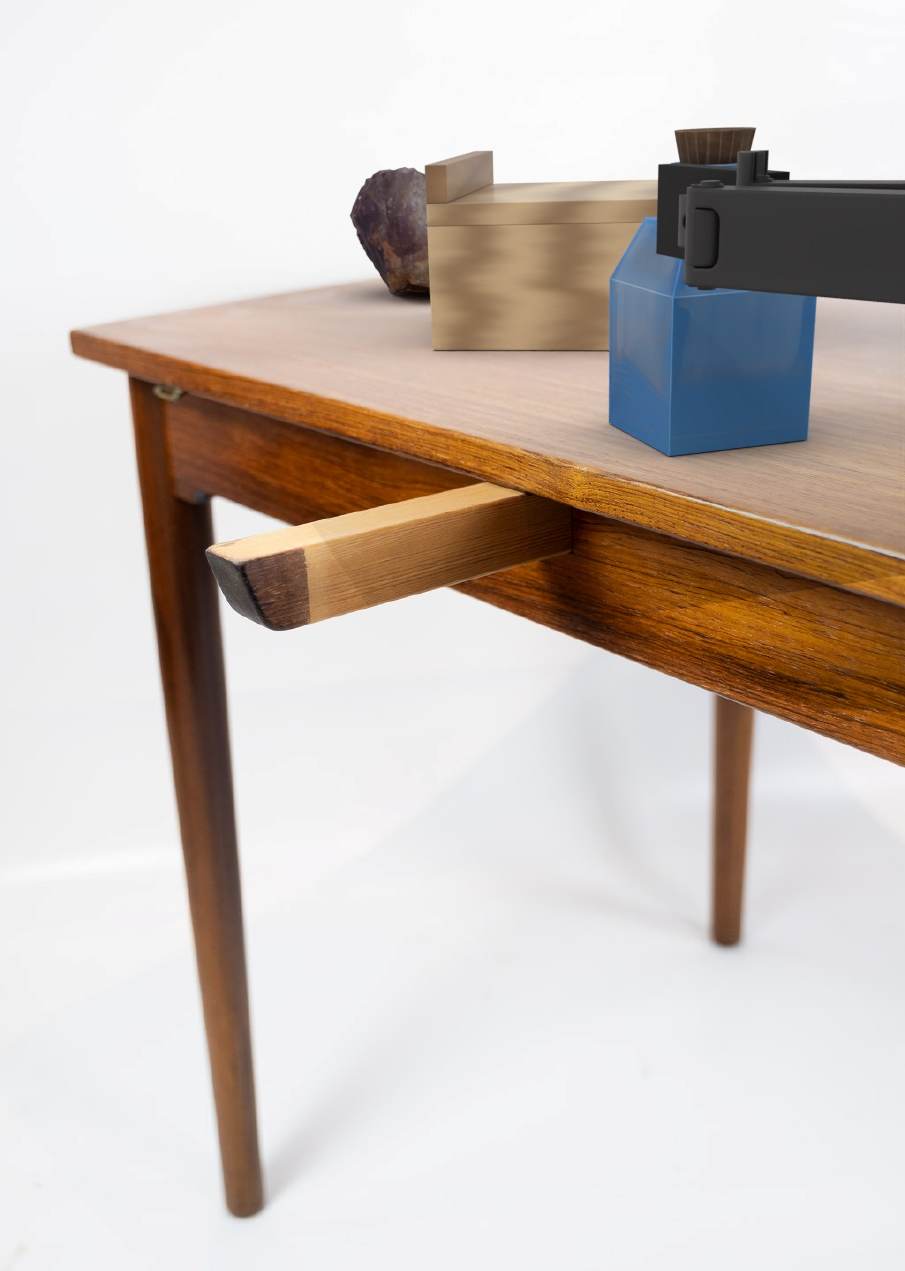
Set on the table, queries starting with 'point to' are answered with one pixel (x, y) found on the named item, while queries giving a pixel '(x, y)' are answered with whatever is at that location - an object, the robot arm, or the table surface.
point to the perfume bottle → (705, 343)
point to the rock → (395, 227)
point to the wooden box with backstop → (525, 256)
